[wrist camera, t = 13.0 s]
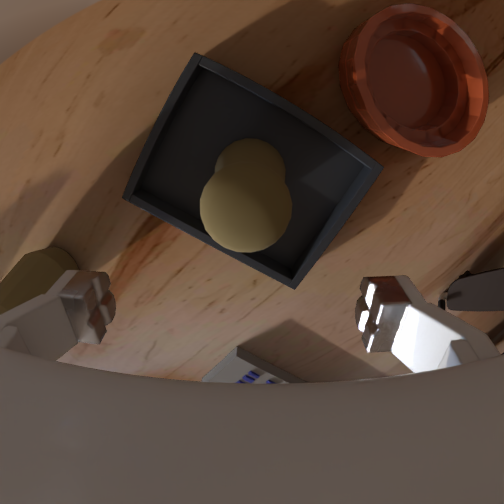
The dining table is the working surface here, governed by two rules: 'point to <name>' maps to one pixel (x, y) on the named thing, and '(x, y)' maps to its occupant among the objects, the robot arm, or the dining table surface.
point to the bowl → (415, 80)
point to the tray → (254, 127)
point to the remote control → (248, 370)
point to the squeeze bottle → (33, 276)
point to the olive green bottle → (247, 197)
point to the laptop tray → (476, 292)
